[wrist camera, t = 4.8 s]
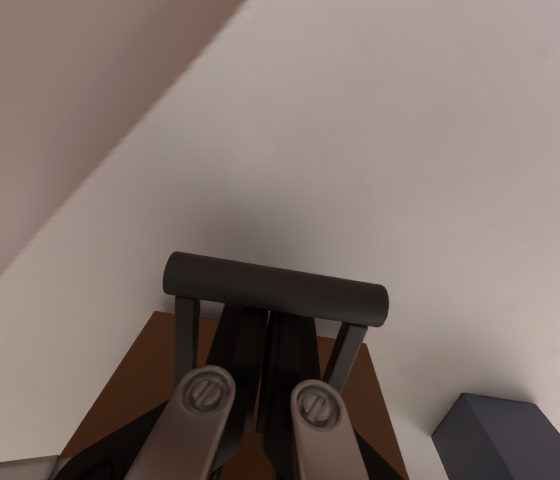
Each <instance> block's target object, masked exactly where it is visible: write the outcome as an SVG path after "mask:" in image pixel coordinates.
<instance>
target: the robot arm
mask: <svg viewBox="0 0 560 480" xmlns="http://www.w3.org/2000/svg"><path fill="white" fill-rule="evenodd" d="M268 311H269V310H264V309H258V308H251V307H245V306H239V305H232V304H226V303H225V305H224V308H223V311H222V314H221V317H220V320H219V323H218V326H217V330H216V333H215V336H214V339H213V342H212V345H211V348H210V351H209V354H208V357H207V360H206V363H205V366H200V367H198V368H195V369H193V370H191V371H190V372H189V373H187V374H186V375H185V376H184V377H183V379H182V380H181V381H180V383H179V384H178V386H177V388H176V390H175V391H174V393H173V395H172V396H171V398H170V399H169V400H167V401H165V402H164V403H162V404H160V405H159V406H157V407H155V408H153V409H152V410H150V411H148V412H147V413H145V414H143V415H142V416H140V417H138V418H136V419H135V420H133V421H131V422H130V423H128V424H126V425H125V426H123V427H121V428H119V429H118V430H116V431H114V432H113V433H111V434H109V435H108V436H106V437H104V438H102V439H101V440H99V441H97V442H96V443H94V444H92V445H91V446H89V447H87V448H85V449H84V450H82V451H81V452H79V453H78V454H77V455H75V456H74V457H71V458H64V459H60V458H59V455H53V456H46V457H38V458H30V459H22V460H15V461H7V462H0V480H221V478H222V474H223V471H224V468H225V464H226V461H227V460H228V459H230V458H231V457H232V456H233V455H234V454H235V453H237V452H238V451H239V450H240V448H241V442H242V437H243V431H246V432H250V429H251V424H252V418H253V413H254V408H255V403H256V397H257V392H258V387H259V382H260V377H261V384H260V394H259V403H258V412H257V422H256V433H262V439H261V446H263V453H264V454H265V456H266V457H267V459H268V460H269V461H270V463H271V464H272V480H405V479H404V478H403V477H402V476H401V475H400V474H399V473H398V472H397V471H396V470H395V469H394V468H393V467H392V466H391V465H390V464H389V463H388V462H387V461H386V460H385V459H384V458H383V457H382V456H381V455H380V454H379V453H378V452H377V451H376V450H375V449H374V448H373V447H372V446H371V445H370V444H369V443H368V442H367V441H366V440H365V439H364V438H363V437H362V436H361V435H360V434H359V433H358V432H357V431H356V430H355V429H354V428H353V427H352V425H351V422H350V419H349V416H348V413H347V410H346V406H345V404H344V402H343V400H342V397H341V396H340V394H339V393H338V392H337V391H336V390H335V389H334V388H333V387H332V386H330V385H329V384H327V383H325V382H323V381H321V373H320V364H319V355H318V346H317V337H316V328H315V320H314V317H308V316H302V315H296V314H289V313H283V312H277V311H270V315H269V321H268ZM267 321H268V326H267ZM266 330H267V332H266ZM261 371H262V375H261Z"/></svg>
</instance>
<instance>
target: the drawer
mask: <svg viewBox="0 0 560 480" xmlns="http://www.w3.org/2000/svg"><path fill="white" fill-rule="evenodd" d="M163 290H164V292H165V293H166V294H169V295H175V314H172V313H165V312H159V311H154V313H153V314H152V316H151V317H150V319H149V320H148V322H147V323H146V325H145V326H144V328H143V330H142V331H141V333H140V334H139V336H138V337H137V339H136V340H135V342H134V343H133V345H132V346H131V348H130V349H129V351H128V352H127V354H126V355H125V357H124V358H123V360H122V361H121V363H120V365H119V366H118V368H117V369H116V371H115V372H114V374H113V375H112V377H111V378H110V380H109V381H108V383H107V384H106V386H105V387H104V389H103V390H102V392H101V393H100V395H99V396H98V398H97V400H96V401H95V403H94V404H93V406H92V407H91V409H90V410H89V412H88V413H87V415H86V416H85V418H84V419H83V421H82V422H81V424H80V425H79V427H78V428H77V430H76V431H75V433H74V435H73V436H72V438H71V439H70V441H69V442H68V444H67V445H66V447H65V448H64V450H63V451H62V453H61V454H60V456H59V458H60V459H64V458H71V457H74V456H75V455H77V454H78V453H79V452H81V451H82V450H84V449H85V448H87V447H89V446H91V445H92V444H94V443H96V442H97V441H99V440H101V439H102V438H104V437H106V436H108V435H109V434H111V433H113V432H114V431H116V430H118V429H119V428H121V427H123V426H125V425H126V424H128V423H130V422H131V421H133V420H135V419H136V418H138V417H140V416H142V415H143V414H145V413H147V412H148V411H150V410H152V409H153V408H155V407H157V406H159V405H160V404H162V403H164V402H165V401H167V400H169V399H170V398H171V396H172V395H173V393H174V391H175V390H176V388H177V386H178V384H179V383H180V381H181V380H182V379H183V377H184V376H185V375H186V374H187V373H189V372H190V371H191V370H193V369H195V368H198V367H200V366H205V363H206V360H207V357H208V354H209V351H210V348H211V345H212V342H213V339H214V336H215V333H216V330H217V326H218V323H219V321H217V320H211V319H204V318H199V317H200V299H201V300H207V301H213V302H220V303H226V304H232V305H239V306H245V307H251V308H258V309H264V310H270V311H277V312H283V313H289V314H296V315H302V316H308V317H315V318H321V319H327V320H334V321H340V322H342V324H341V327H340V330H339V333H338V336H337V338H336V339H333V338H327V337H320V336H316V337H317V346H318V355H319V364H320V373H321V381H323V382H325V383H327V384H329V385H330V386H332V387H333V388H334V389H335V390H336V391H337V392H338V393H339V394H340V396H341V397H342V400H343V402H344V404H345V406H346V410H347V413H348V416H349V419H350V422H351V425H352V427H353V428H354V429H355V430H356V431H357V432H358V433H359V434H360V435H361V436H362V437H363V438H364V439H365V440H366V441H367V442H368V443H369V444H370V445H371V446H372V447H373V448H374V449H375V450H376V451H377V452H378V453H379V454H380V455H381V456H382V457H383V458H384V459H385V460H386V461H387V462H388V463H389V464H390V465H391V466H392V467H393V468H394V469H395V470H396V471H397V472H398V473H399V474H400V475H401V476H402V477H403V478H404V479H405V480H409V477H408V474H407V471H406V468H405V465H404V461H403V458H402V455H401V452H400V449H399V446H398V442H397V439H396V436H395V433H394V430H393V427H392V424H391V420H390V417H389V414H388V411H387V408H386V405H385V401H384V398H383V395H382V392H381V389H380V386H379V382H378V379H377V376H376V373H375V370H374V367H373V363H372V360H371V357H370V354H369V351H368V348H367V344H365V343H362V342H363V339H364V337H365V334H366V332H367V330H368V326H372V327H380V326H382V325H383V324H384V322H385V320H386V318H387V315H388V309H389V298H388V293H387V290H386V288H385V287H384V286H382V285H378V284H372V283H366V282H360V281H354V280H348V279H342V278H336V277H330V276H324V275H318V274H311V273H305V272H299V271H293V270H287V269H281V268H275V267H269V266H263V265H257V264H251V263H245V262H239V261H233V260H227V259H220V258H214V257H208V256H202V255H196V254H190V253H184V252H178V251H176V252H173V253H172V254H171V256H170V257H169V259H168V261H167V264H166V267H165V270H164V275H163ZM266 332H267V330H266ZM261 375H262V371H261ZM260 384H261V377H260V382H259V387H258V392H257V397H256V403H255V408H254V413H253V418H252V424H251V429H250V432H246V431H243V437H242V442H241V448H240V450H239V451H238V452H237V453H235V454H234V455H233V456H232V457H231V458H230V459H228V460H227V461H226V464H225V468H224V471H223V474H222V478H221V480H272V464H271V463H270V461H269V460H268V459H267V457H266V456H265V454H264V453H263V446H261V439H262V433H256V422H257V412H258V403H259V394H260Z"/></svg>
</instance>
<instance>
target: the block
mask: <svg viewBox="0 0 560 480" xmlns="http://www.w3.org/2000/svg"><path fill="white" fill-rule="evenodd" d="M432 440H433V443H434V445H435V448H436V450H437V452H438V455H439V457H440V459H441V462H442V464H443V466H444V469H445V471H446V474H447V476H448V478H449V480H560V433H559V432H558V431H557V430H556V429H555V427H554V426H553V425H552V424H551V422H550V421H549V420H548V419H547V418H546V416H545V415H544V414H543V413H542V411H541V410H540V409H539V408H538V407H537V405H535V404H530V403H523V402H516V401H510V400H503V399H496V398H489V397H483V396H476V395H469V394H462V395H461V397H460V398H459V400H458V401H457V402H456V404H455V405H454V407H453V408H452V409H451V411H450V412H449V414H448V415H447V416H446V418H445V419H444V421H443V422H442V423H441V425H440V426H439V428H438V429H437V430H436V432H435V433H434V435H433V436H432Z"/></svg>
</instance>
